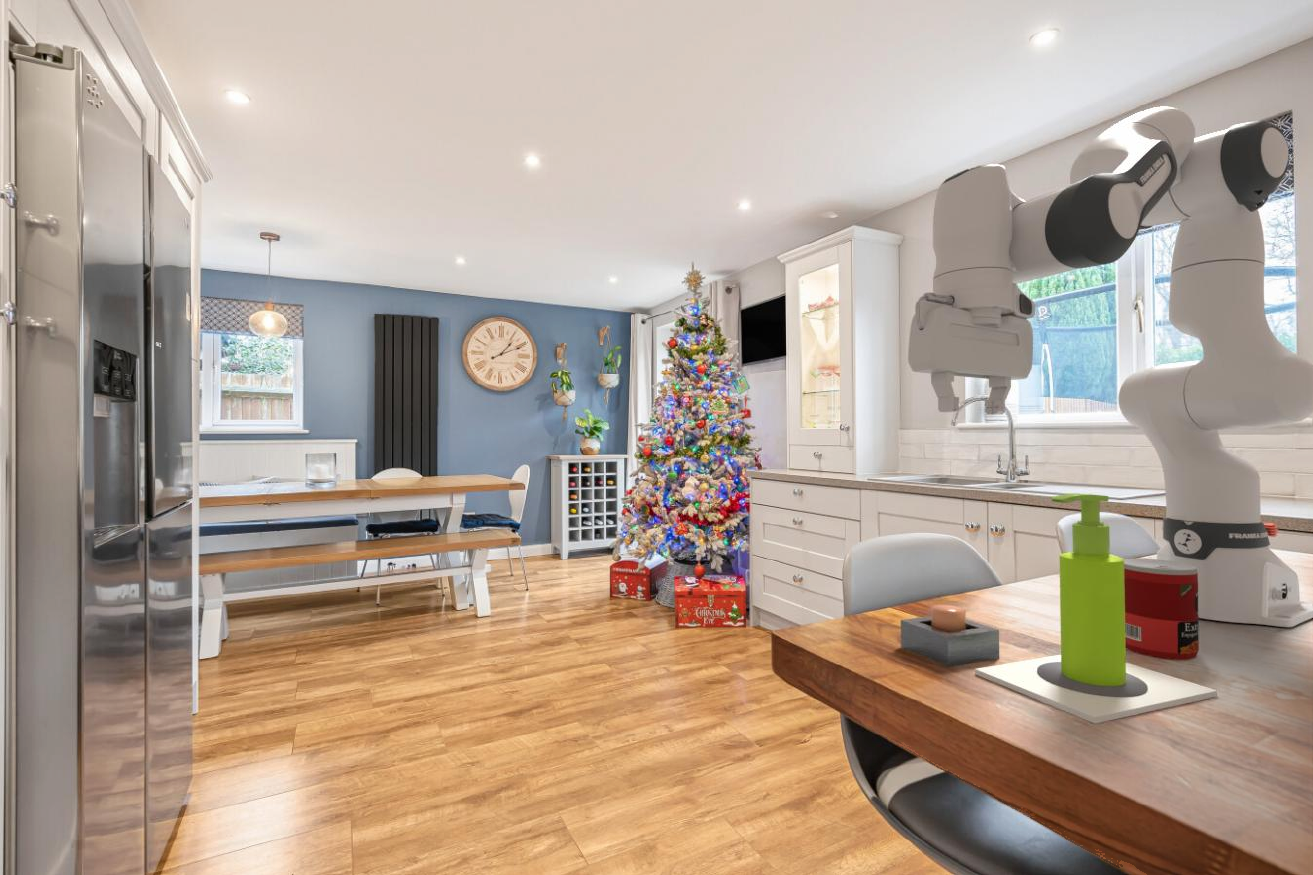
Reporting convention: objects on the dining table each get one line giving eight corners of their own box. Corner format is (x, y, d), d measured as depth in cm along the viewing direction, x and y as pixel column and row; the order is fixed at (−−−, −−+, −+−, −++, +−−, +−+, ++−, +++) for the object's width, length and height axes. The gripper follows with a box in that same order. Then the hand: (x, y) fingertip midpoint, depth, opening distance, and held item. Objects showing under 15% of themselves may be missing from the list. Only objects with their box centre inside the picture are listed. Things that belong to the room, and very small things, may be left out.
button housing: (949, 639, 87) (948, 613, 87) (999, 658, 79) (998, 629, 79) (901, 646, 84) (900, 619, 84) (948, 666, 76) (947, 637, 76)
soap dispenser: (1040, 668, 73) (1037, 492, 73) (1097, 666, 74) (1095, 491, 74) (1078, 687, 67) (1075, 496, 68) (1140, 685, 68) (1137, 495, 68)
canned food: (1197, 665, 76) (1196, 572, 76) (1115, 651, 82) (1113, 564, 82) (1201, 649, 82) (1199, 562, 82) (1123, 637, 87) (1122, 555, 87)
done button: (948, 626, 84) (948, 603, 84) (973, 635, 80) (973, 611, 80) (924, 630, 83) (923, 606, 83) (948, 638, 79) (947, 614, 79)
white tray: (1086, 654, 80) (1086, 648, 80) (1217, 696, 67) (1217, 688, 67) (975, 674, 74) (975, 667, 74) (1094, 723, 61) (1094, 715, 61)
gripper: (942, 284, 71) (942, 409, 71) (1043, 305, 82) (1043, 414, 82) (894, 295, 77) (894, 412, 76) (994, 314, 87) (995, 416, 87)
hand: (972, 413), depth 79 cm, fingers open, 8 cm apart
